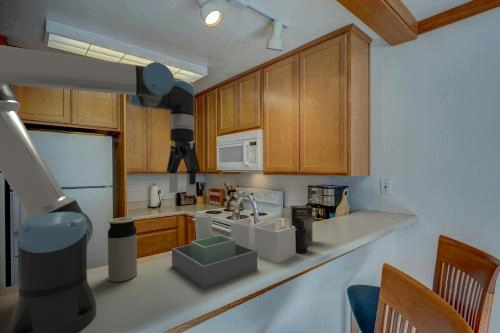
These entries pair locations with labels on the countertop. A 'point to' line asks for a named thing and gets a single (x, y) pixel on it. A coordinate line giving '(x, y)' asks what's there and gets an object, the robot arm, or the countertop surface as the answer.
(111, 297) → the countertop surface
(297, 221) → the supplement bottle
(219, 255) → the box
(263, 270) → the countertop surface
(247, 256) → the big crate
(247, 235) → the white cubby shelf
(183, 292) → the countertop surface
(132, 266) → the travel mug
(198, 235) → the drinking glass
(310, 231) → the coffee box
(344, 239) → the countertop surface
